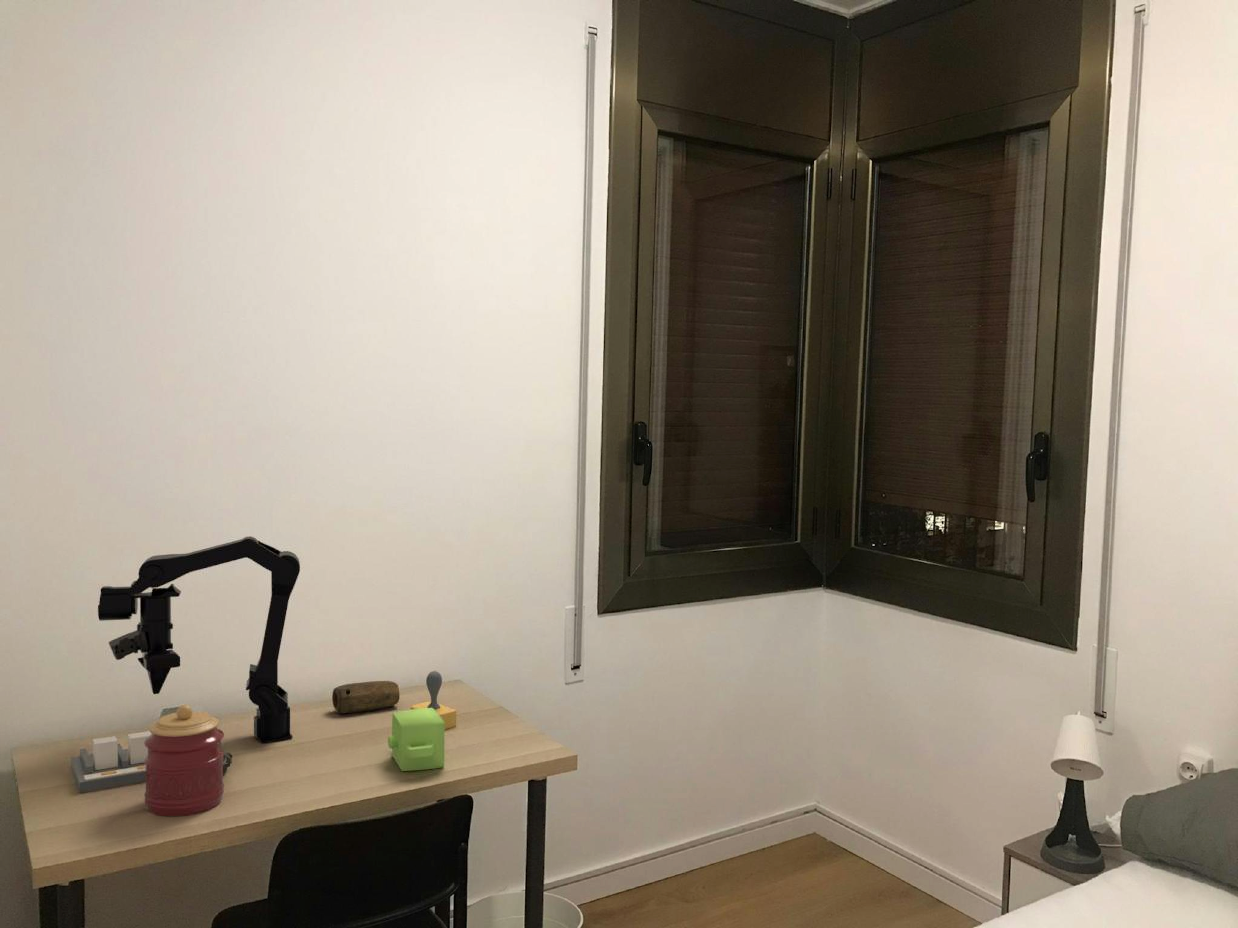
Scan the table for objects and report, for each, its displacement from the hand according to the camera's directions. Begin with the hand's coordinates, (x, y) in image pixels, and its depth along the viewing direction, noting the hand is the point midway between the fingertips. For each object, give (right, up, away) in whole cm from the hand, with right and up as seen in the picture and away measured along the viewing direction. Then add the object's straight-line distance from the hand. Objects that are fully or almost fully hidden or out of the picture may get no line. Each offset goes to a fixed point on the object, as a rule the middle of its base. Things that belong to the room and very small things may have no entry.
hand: (155, 693), depth 209 cm
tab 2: (+3, -10, -13) cm, 17 cm away
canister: (+18, -13, -28) cm, 36 cm away
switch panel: (0, -12, -14) cm, 18 cm away
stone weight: (+36, -11, +28) cm, 47 cm away
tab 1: (-2, -10, -17) cm, 20 cm away
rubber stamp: (+53, -11, +19) cm, 58 cm away
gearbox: (+54, -13, -4) cm, 55 cm away
